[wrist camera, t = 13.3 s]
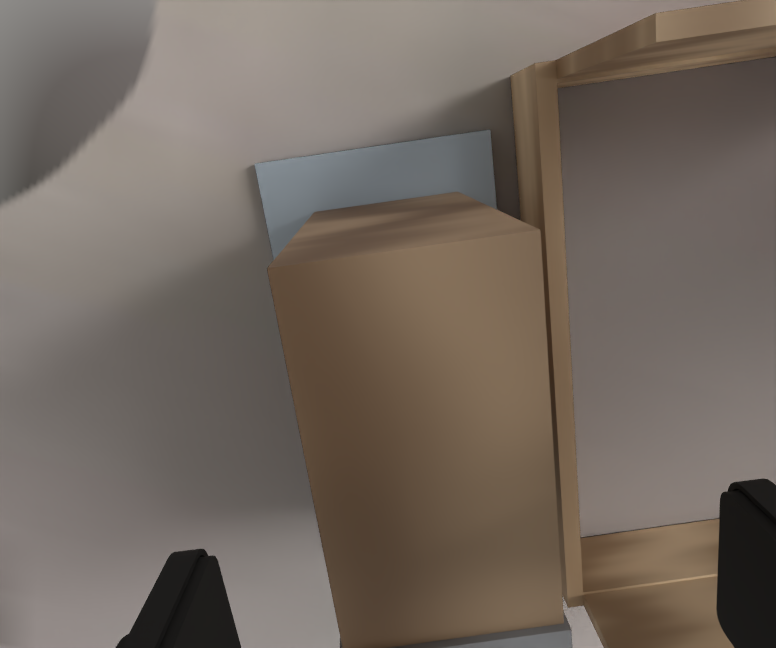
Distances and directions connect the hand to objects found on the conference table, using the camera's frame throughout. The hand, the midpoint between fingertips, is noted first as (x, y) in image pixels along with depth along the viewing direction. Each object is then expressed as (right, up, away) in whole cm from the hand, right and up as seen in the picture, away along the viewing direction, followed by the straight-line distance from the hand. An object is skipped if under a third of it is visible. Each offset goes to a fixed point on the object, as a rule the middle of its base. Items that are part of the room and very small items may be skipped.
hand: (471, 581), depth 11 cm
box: (-1, +3, +11) cm, 12 cm away
